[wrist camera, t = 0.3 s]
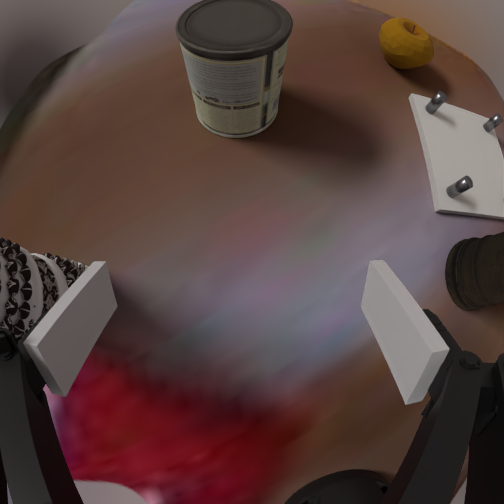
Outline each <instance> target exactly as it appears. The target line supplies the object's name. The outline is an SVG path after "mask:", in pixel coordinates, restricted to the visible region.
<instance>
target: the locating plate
mask: <svg viewBox="0 0 504 504" xmlns="http://www.w3.org/2000/svg"><path fill="white" fill-rule="evenodd" d="M446 100H447V96H446V95H445V94H444V93H443V92H442V91H438V92H437V93H436V95H435V96H434V97H433V98H432V99H430V98H427V97H423V96H420V95H416V94H411V95H410V96H409V101H410V105H411V108H412V111H413V114H414V118H415V121H416V125H417V128H418V132H419V136H420V140H421V144H422V148H423V152H424V156H425V160H426V165H427V170H428V175H429V180H430V185H431V191H432V197H433V203H434V209H435V212H440V213H450V214H460V215H469V216H477V217H486V218H494V219H502V220H504V158H503V155H502V152H501V148H500V145H499V142H498V139H497V136H496V133H495V130H494V128H495V127H496V126H498V125H499V124H500V123H502V122H503V119H502V117H501V116H500V114H498V113H497V114H495V115H494V116H493V117H492V118H491V119H488V118H485V117H483V116H480V115H478V114H475V113H472V112H470V111H467V110H464V109H461V108H458V107H456V106H453V105H450V104H447V103H444V102H445V101H446Z"/></svg>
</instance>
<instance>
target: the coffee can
mask: <svg viewBox="0 0 504 504" xmlns="http://www.w3.org/2000/svg"><path fill="white" fill-rule="evenodd" d="M292 26H293V21H292V18H291V16H290V14H289V13H288V12H287V10H286V9H285V8H283V7H282V6H281V5H279V4H278V3H276V2H274V1H271V0H203V1H200V2H198V3H196V4H194V5H192V6H191V7H190V8H188V9H187V10H186V11H184V12H183V13H182V14H181V16H180V17H179V19H178V20H177V23H176V33H177V37H178V39H179V41H180V45H181V49H182V53H183V57H184V61H185V65H186V69H187V74H188V78H189V82H190V86H191V90H192V94H193V98H194V102H195V106H196V113H197V116H198V119H199V121H200V122H201V124H202V125H203V126H204V127H205V128H206V129H208V130H209V131H210V132H212V133H214V134H217V135H219V136H223V137H228V138H244V137H248V136H252V135H255V134H258V133H260V132H261V131H263V130H265V129H266V128H267V127H268V126H269V125H271V124H272V122H273V121H274V119H275V117H276V115H277V112H278V102H279V96H280V90H281V83H282V77H283V71H284V64H285V59H286V52H287V46H288V39H289V36H290V34H291V31H292Z"/></svg>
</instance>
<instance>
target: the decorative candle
mask: <svg viewBox="0 0 504 504" xmlns="http://www.w3.org/2000/svg"><path fill="white" fill-rule="evenodd" d="M88 267H89V266H87V265H84V264H82V263H77V262H75V260H72V261H71V262H69V260H68V258H64V259H63V260H61V259H60V257H59V256H54V257H52V255H51V254H50V253H46V254H44V255H40V254H36V253H35V254H30V253H29V252H28V250H26V249H24V248H22V247H20V246H19V245H18V244H17V243H11V241H10V240H5V239H4V238H0V329H8V330H9V331H10V332H11V334H12V336H13V338H14V340H15V342H16V344H18V343H19V341H20V340H21V339H22V338H23V336H24V335H25V334H26V333H27V331H28V330H29V329H30V328H32V325H33V324H34V323H35V322H36V321H37V319H38V318H39V317H40V316H41V315H42V314H43V313H44V312H46V311H47V310H49V309H50V308H52V307H53V306H54V305H55V303H56V302H57V301H58V300H59V299H60V298H61V297H62V295H63V294H64V293H65V292H66V291H67V290H68V289H69V288H70V287H71V285H72V284H73V283H74V282H75V281H76V280H77V279H78V278H79V277H80V276H81V275H82V274H83V272H84V271H85V270H86V269H87V268H88Z"/></svg>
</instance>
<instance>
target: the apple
mask: <svg viewBox="0 0 504 504" xmlns="http://www.w3.org/2000/svg"><path fill="white" fill-rule="evenodd" d="M379 42H380V47H381V50H382V53H383V56H384V58H385V59H386V61H387V62H388V63H389V64H391V65H392V66H393V67H395V68H398V69H409V68H416V67H419V66H423V65H425V64H427V63H429V62H430V61H431V60H432V58H433V56H434V48H433V43H432V40H431V38H430V37H429V36H428V34H427V33H426V32H425V31H424V30H423V29H422V28H421V27H420V26H419V25H417V24H416V23H414V22H413V21H410V20H408V19H405V18H393V19H390V20H387V21H386V22H385V23H383V24H382V27H381V30H380V33H379Z"/></svg>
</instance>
